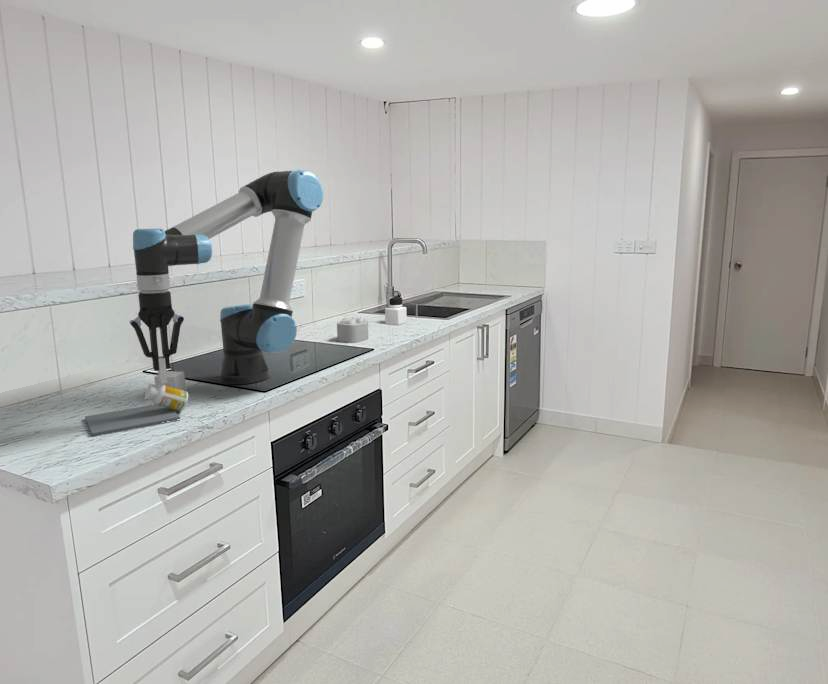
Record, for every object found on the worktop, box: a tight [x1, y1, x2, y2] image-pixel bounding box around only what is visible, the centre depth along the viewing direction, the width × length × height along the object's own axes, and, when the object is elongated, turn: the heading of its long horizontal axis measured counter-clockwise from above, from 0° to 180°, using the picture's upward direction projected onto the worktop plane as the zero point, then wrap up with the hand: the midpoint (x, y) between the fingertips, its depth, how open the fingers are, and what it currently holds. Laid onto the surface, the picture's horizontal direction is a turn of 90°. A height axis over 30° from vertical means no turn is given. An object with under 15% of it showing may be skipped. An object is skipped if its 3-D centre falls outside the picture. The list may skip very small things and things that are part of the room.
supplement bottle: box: [144, 383, 189, 412], centre depth 165 cm, size 5×5×10 cm
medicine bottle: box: [384, 296, 408, 326], centre depth 284 cm, size 7×7×12 cm
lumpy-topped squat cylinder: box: [336, 316, 369, 344], centre depth 252 cm, size 10×13×9 cm
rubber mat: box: [84, 403, 181, 437], centre depth 161 cm, size 20×15×1 cm
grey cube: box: [153, 370, 187, 392], centre depth 182 cm, size 6×6×6 cm
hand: (163, 381), depth 164 cm, fingers closed
